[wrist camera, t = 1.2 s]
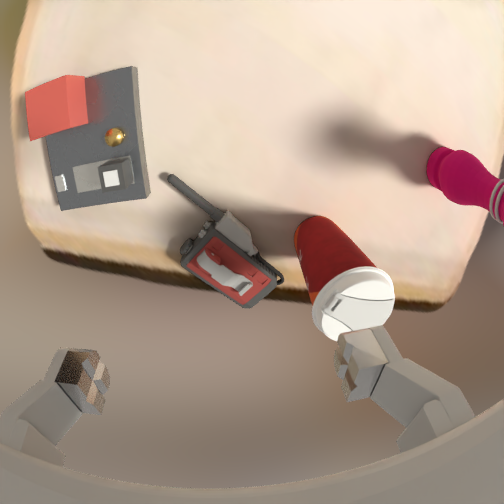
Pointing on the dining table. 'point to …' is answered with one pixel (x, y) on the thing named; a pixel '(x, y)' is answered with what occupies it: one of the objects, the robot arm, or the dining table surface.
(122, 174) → the block
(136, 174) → the panel
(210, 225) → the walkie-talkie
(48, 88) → the cap
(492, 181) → the pepper mill
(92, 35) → the dining table surface
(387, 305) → the coffee cup
